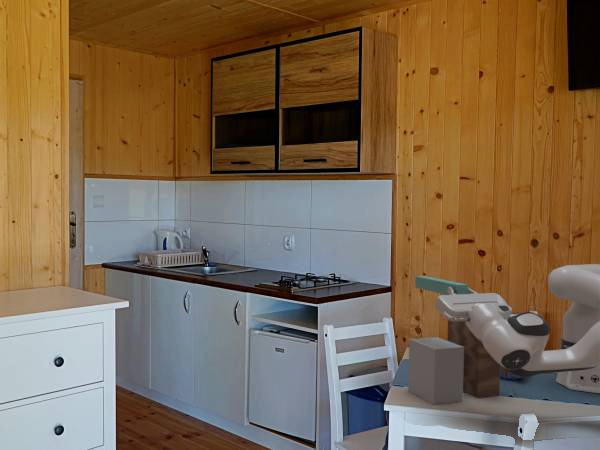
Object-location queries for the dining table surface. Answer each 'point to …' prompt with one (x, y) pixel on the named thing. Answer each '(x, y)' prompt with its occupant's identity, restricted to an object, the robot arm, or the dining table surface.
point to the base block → (436, 370)
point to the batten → (439, 285)
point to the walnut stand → (475, 362)
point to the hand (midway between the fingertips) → (456, 288)
